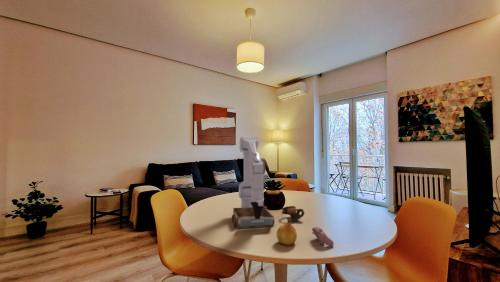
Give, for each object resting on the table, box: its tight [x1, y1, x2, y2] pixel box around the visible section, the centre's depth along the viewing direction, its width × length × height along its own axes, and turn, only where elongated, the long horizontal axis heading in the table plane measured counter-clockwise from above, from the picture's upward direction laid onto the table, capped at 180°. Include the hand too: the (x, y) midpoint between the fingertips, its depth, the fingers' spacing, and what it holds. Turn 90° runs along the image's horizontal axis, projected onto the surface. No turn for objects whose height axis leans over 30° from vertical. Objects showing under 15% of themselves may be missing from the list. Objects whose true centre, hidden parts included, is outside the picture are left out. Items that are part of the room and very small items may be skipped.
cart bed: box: [231, 206, 275, 230], centre depth 118 cm, size 20×14×6 cm
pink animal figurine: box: [311, 226, 335, 248], centre depth 94 cm, size 10×5×7 cm, turn 6°
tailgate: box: [239, 217, 275, 226], centre depth 108 cm, size 16×2×6 cm
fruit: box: [276, 222, 298, 246], centre depth 93 cm, size 8×8×8 cm
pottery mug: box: [281, 205, 305, 223], centre depth 123 cm, size 12×10×8 cm
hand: (257, 218), depth 107 cm, fingers closed
